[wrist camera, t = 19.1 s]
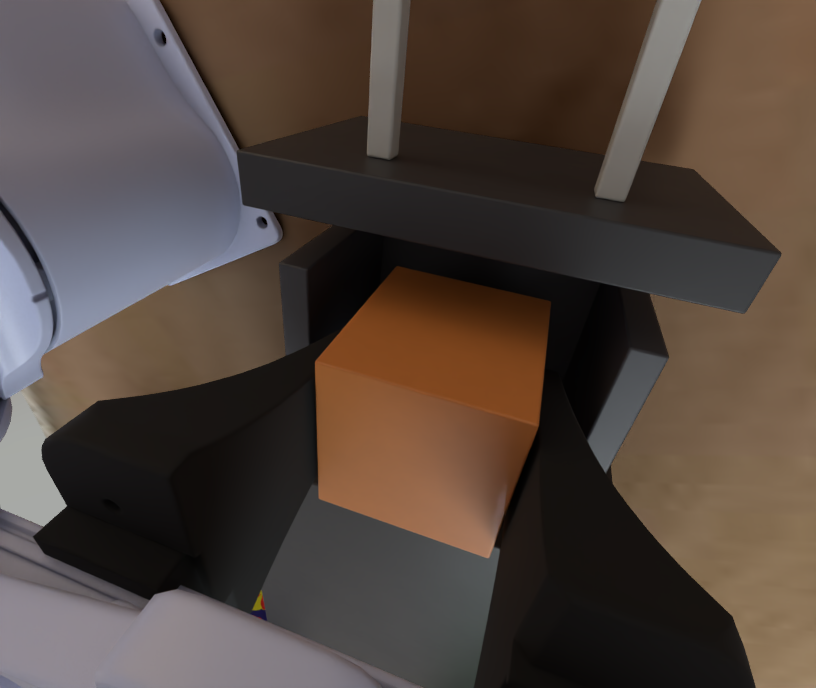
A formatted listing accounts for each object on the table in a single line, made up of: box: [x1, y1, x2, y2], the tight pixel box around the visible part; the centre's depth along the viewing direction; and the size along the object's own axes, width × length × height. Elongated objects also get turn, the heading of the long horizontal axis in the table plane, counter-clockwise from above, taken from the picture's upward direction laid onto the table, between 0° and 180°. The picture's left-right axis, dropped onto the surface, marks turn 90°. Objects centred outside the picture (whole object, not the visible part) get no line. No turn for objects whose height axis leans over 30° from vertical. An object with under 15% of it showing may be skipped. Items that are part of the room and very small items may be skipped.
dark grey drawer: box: [236, 0, 781, 525], centre depth 13 cm, size 17×10×7 cm, turn 174°
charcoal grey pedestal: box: [262, 465, 612, 688], centre depth 20 cm, size 13×12×9 cm
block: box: [315, 266, 551, 558], centre depth 11 cm, size 4×4×5 cm
